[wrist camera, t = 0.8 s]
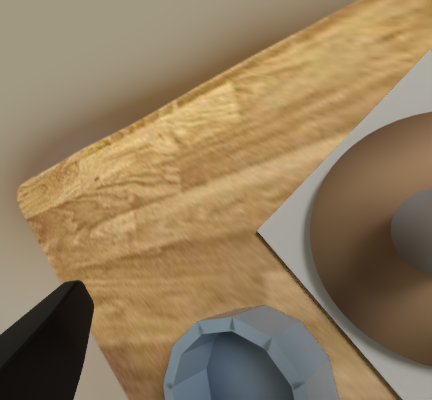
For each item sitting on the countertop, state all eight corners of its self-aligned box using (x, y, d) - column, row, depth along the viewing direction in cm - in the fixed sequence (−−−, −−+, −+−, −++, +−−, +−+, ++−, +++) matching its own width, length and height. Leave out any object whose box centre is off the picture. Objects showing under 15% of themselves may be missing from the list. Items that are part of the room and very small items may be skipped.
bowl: (373, 411, 19) (359, 455, 15) (261, 488, 22) (224, 542, 18) (266, 278, 24) (233, 284, 20) (186, 356, 27) (142, 376, 23)
